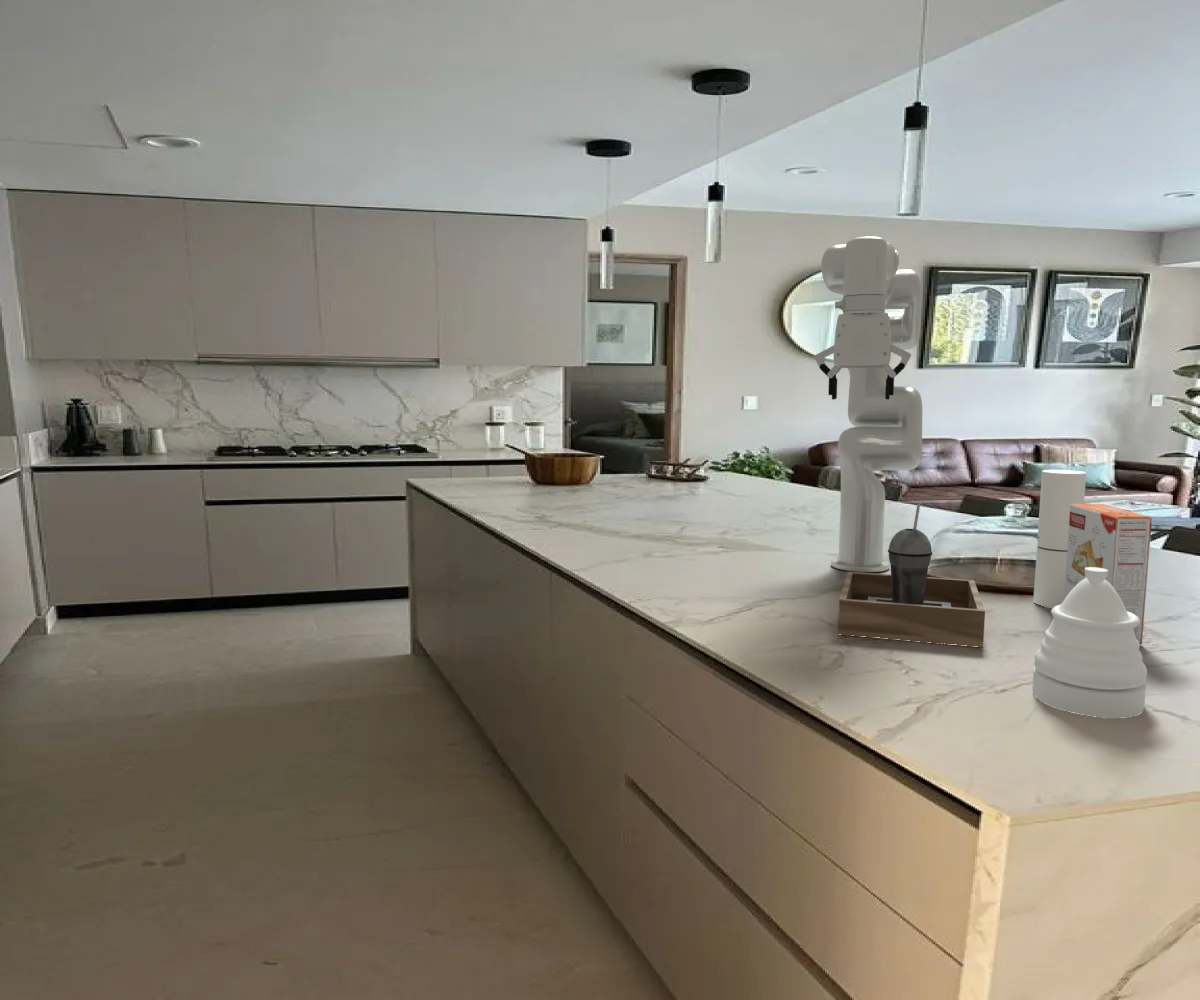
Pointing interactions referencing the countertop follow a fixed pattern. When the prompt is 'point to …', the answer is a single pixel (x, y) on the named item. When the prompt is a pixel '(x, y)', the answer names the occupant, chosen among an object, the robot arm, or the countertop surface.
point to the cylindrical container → (1055, 533)
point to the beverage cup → (909, 564)
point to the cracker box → (1111, 552)
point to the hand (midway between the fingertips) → (860, 399)
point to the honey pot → (1091, 653)
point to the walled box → (912, 611)
